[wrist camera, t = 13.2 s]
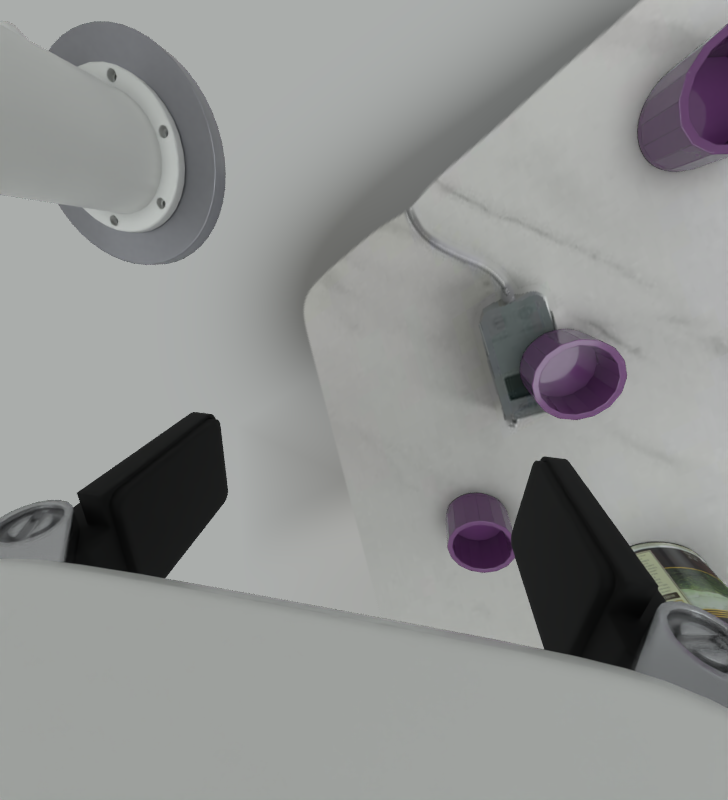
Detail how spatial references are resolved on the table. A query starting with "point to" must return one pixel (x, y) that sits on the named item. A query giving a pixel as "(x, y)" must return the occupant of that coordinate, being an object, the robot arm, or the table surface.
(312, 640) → the robot arm
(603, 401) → the dish middle
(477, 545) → the dish far
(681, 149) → the dish near
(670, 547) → the coffee can
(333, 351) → the table surface
